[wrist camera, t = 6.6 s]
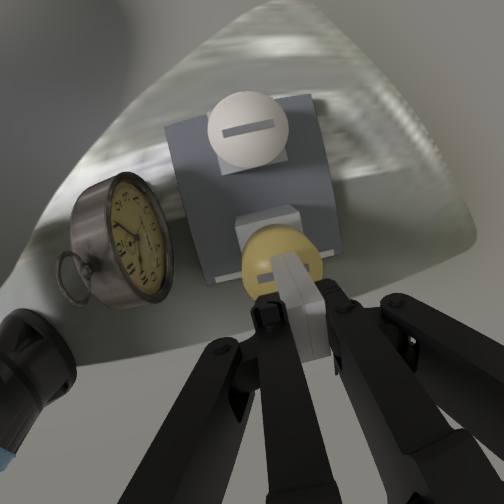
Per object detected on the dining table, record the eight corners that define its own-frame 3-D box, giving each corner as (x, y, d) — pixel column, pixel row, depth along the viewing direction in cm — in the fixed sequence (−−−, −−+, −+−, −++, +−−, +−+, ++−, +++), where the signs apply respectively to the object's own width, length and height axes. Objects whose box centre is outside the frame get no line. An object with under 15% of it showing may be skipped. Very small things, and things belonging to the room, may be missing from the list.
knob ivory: (225, 174, 25) (217, 176, 17) (212, 122, 23) (199, 101, 15) (279, 162, 25) (297, 158, 17) (267, 109, 23) (278, 83, 15)
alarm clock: (185, 269, 30) (136, 365, 14) (141, 280, 30) (71, 371, 14) (155, 169, 27) (62, 172, 11) (110, 185, 27) (2, 209, 11)
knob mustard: (249, 273, 26) (252, 318, 18) (235, 220, 24) (232, 244, 16) (303, 260, 25) (328, 300, 18) (292, 207, 24) (316, 224, 16)
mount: (209, 278, 30) (200, 308, 23) (169, 129, 25) (147, 118, 19) (337, 248, 30) (362, 270, 23) (306, 98, 25) (325, 78, 18)
